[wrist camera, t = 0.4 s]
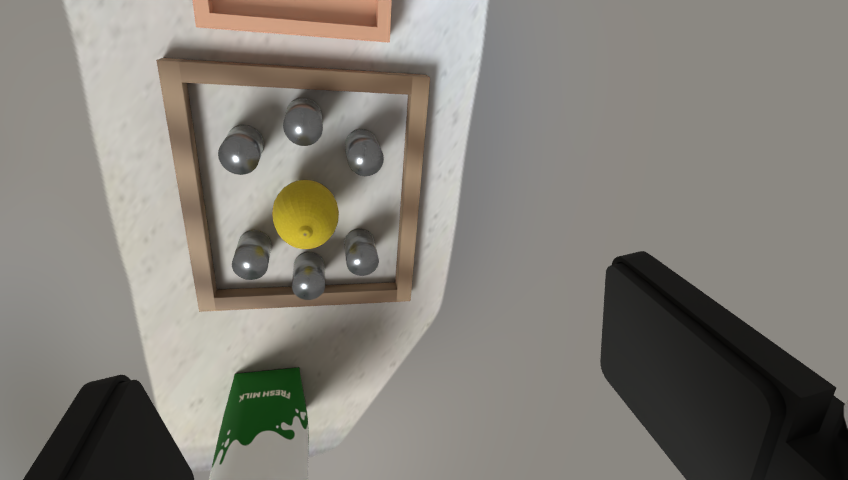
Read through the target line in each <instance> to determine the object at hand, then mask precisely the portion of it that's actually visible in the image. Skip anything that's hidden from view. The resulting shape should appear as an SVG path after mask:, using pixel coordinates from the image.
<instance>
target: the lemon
mask: <svg viewBox="0 0 848 480" xmlns="http://www.w3.org/2000/svg"><path fill="white" fill-rule="evenodd" d="M272 215H273V223H274V226H275V228H276V230H277V233H278V234H279V236H280V237H281V238H282V239H283V240H284V241H285V242H286V243H288V244H289V245H291V246H293V247H296V248H300V249H312V248H316V247H318V246H320V245H322V244H324V243H325V242H326V241H327V240H329V238H330V237H331V236H332V234H333V233H334V231H335V229H336V226H337V223H338V215H339V211H338V206H337V202H336V200H335V198H334V196H333V194H332V193H331V192H330V191H329V190H328V189H327V188H326V187H325V186H323V185H322V184H320V183H318V182H315V181H311V180H299V181H295V182H293V183H290V184H289V185H287V186H286V187H284V188H283V189H282V191H281V192H280V193H279V194H278V196H277V198H276V200H275V202H274V205H273V212H272Z"/></svg>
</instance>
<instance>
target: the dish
mask: <svg viewBox="0 0 848 480" xmlns="http://www.w3.org/2000/svg"><path fill="white" fill-rule="evenodd" d="M391 2H392V0H193V7H194V15H195V22H196V27H200V28H212V29H225V30H238V31H250V32H263V33H276V34H288V35H301V36H314V37H326V38H339V39H352V40H364V41H377V42H390V23H391Z"/></svg>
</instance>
